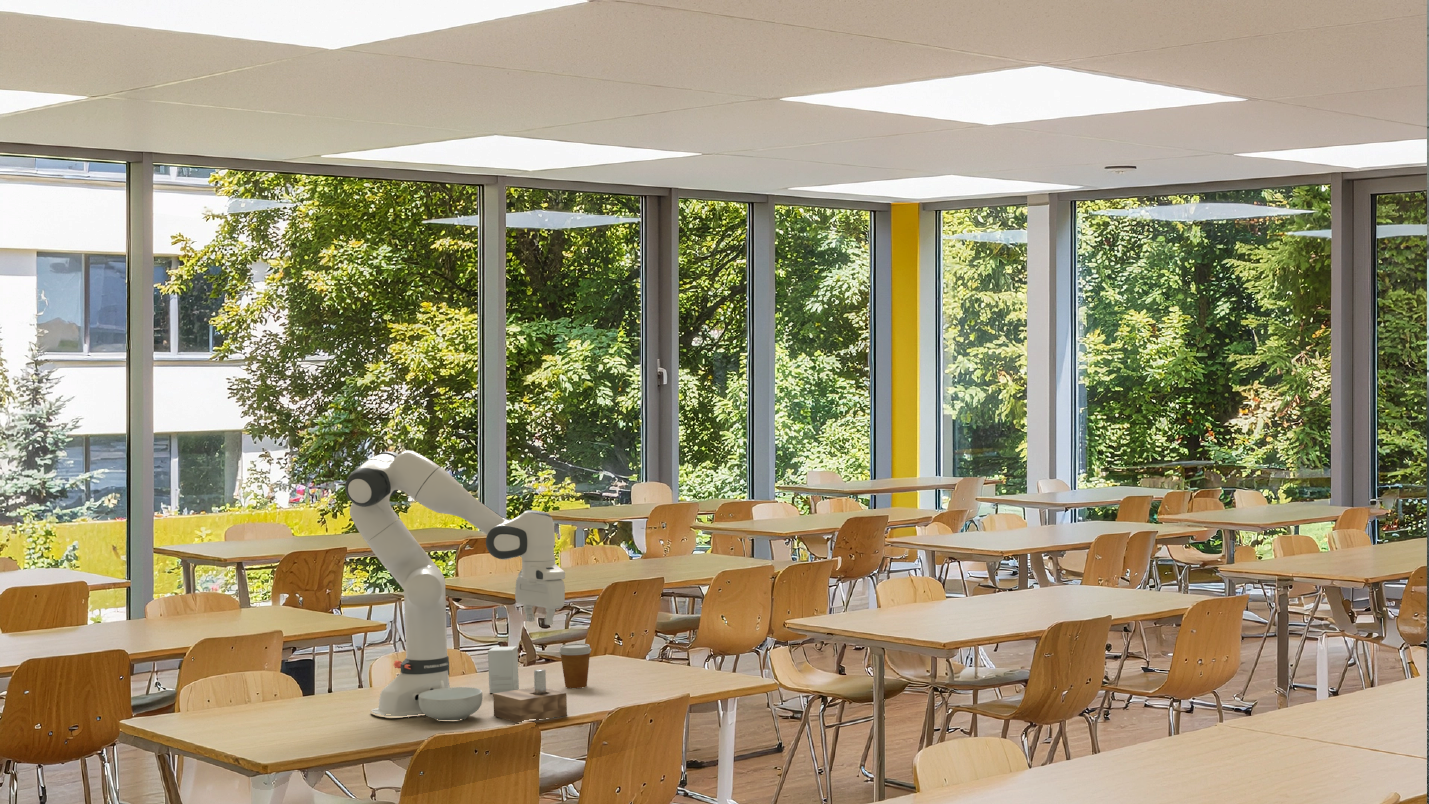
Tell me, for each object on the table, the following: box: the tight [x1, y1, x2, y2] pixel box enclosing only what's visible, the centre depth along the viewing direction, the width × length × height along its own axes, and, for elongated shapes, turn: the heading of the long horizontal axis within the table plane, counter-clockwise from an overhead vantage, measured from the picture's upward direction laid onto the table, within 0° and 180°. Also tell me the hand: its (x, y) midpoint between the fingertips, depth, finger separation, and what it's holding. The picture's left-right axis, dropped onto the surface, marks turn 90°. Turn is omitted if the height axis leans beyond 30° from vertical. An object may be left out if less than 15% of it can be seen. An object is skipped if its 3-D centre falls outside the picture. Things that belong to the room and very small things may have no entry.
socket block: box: [492, 687, 568, 723], centre depth 392 cm, size 14×14×6 cm
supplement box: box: [487, 645, 520, 694], centre depth 431 cm, size 7×7×13 cm
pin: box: [533, 668, 547, 695], centre depth 392 cm, size 3×3×10 cm
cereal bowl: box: [418, 686, 483, 720], centre depth 391 cm, size 17×17×7 cm
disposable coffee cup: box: [558, 643, 592, 689], centre depth 436 cm, size 10×10×12 cm
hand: (539, 623), depth 396 cm, fingers open, 8 cm apart
